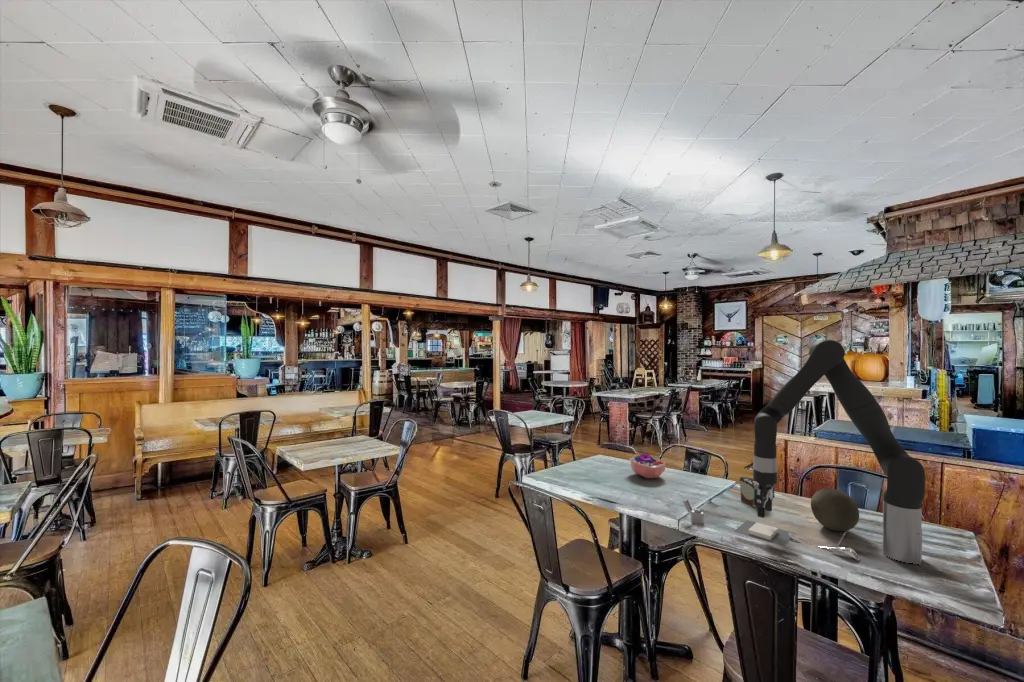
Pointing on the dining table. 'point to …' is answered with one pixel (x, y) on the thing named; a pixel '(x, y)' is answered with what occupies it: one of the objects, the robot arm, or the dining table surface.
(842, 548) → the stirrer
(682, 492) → the dining table surface
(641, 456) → the cell model
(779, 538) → the mat
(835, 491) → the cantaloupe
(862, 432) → the robot arm
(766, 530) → the tile
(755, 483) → the food container
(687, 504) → the lighter
